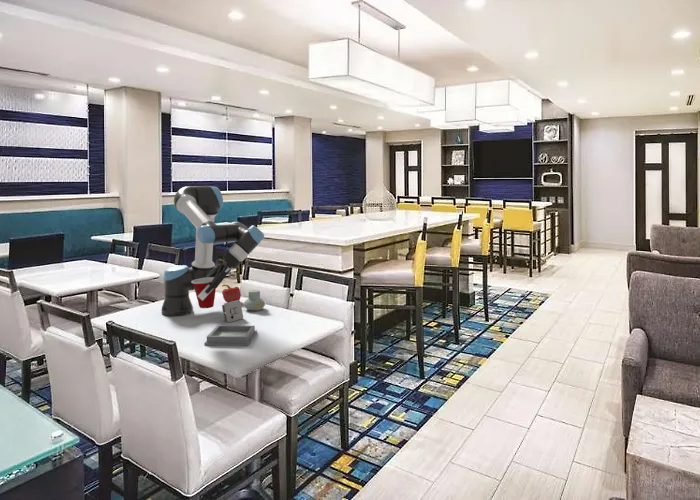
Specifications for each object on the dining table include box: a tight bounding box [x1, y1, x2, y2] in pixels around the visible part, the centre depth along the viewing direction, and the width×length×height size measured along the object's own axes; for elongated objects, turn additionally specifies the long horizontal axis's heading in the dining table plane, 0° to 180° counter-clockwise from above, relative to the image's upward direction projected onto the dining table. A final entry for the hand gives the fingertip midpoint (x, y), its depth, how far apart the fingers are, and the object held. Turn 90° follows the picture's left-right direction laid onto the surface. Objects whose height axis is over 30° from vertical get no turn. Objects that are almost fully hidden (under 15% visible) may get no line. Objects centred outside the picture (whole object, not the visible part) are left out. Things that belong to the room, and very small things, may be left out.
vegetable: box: [221, 284, 242, 303], centre depth 273 cm, size 11×10×10 cm
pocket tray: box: [203, 324, 258, 347], centre depth 211 cm, size 18×18×4 cm
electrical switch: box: [221, 300, 244, 323], centre depth 240 cm, size 9×5×9 cm, turn 141°
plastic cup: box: [192, 277, 217, 309], centre depth 208 cm, size 11×11×12 cm
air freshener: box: [243, 289, 266, 312], centre depth 259 cm, size 11×8×10 cm
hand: (198, 295), depth 207 cm, fingers closed on plastic cup, 10 cm apart
